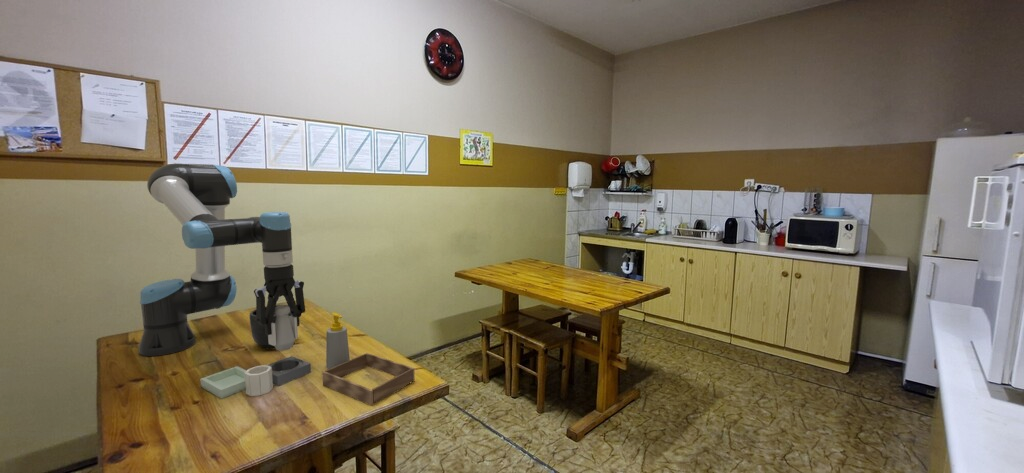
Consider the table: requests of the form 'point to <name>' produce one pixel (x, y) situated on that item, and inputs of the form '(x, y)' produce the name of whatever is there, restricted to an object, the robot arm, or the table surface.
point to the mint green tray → (225, 382)
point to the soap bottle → (336, 344)
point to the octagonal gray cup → (258, 380)
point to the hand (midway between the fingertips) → (283, 340)
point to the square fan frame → (296, 370)
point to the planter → (261, 330)
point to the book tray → (368, 396)
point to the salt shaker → (283, 328)
